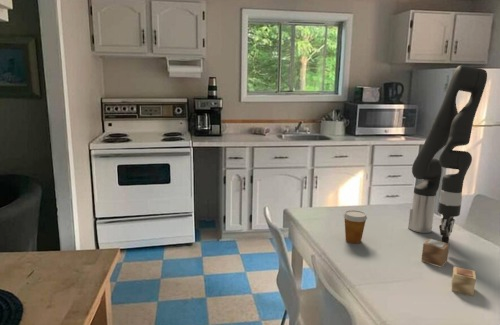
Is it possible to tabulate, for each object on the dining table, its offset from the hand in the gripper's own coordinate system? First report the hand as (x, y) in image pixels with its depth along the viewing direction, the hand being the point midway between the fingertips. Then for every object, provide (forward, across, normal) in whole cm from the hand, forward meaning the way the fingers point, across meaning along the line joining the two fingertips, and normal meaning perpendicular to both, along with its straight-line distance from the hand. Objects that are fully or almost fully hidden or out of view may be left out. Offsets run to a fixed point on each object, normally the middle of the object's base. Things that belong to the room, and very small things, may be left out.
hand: (444, 244), depth 146 cm
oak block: (+4, +25, +12) cm, 28 cm away
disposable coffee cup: (+4, +13, -32) cm, 35 cm away
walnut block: (+4, +10, -1) cm, 10 cm away
